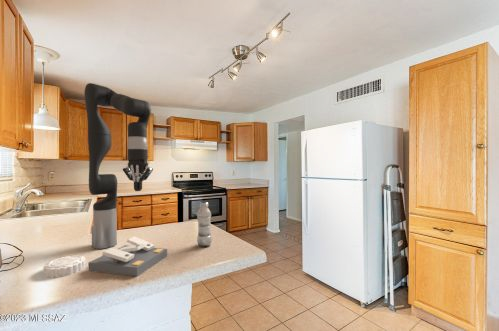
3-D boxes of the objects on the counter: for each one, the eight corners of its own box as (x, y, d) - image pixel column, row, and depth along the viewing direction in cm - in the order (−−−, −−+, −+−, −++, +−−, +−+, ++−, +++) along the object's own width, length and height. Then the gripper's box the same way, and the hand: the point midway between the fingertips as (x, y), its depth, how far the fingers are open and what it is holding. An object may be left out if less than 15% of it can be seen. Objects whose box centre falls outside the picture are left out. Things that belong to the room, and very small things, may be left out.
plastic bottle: (208, 248, 107) (208, 203, 106) (194, 247, 108) (194, 203, 108) (213, 243, 113) (213, 201, 113) (200, 242, 114) (200, 201, 114)
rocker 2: (126, 242, 96) (127, 238, 96) (133, 238, 100) (134, 235, 100) (147, 251, 94) (148, 247, 94) (153, 247, 98) (154, 244, 98)
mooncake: (79, 260, 94) (79, 251, 94) (90, 269, 87) (90, 259, 87) (40, 271, 85) (39, 261, 85) (47, 282, 77) (47, 271, 77)
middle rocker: (115, 253, 91) (115, 250, 91) (123, 250, 94) (123, 246, 94) (138, 250, 88) (137, 246, 88) (145, 246, 92) (144, 242, 92)
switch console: (88, 270, 85) (88, 258, 85) (125, 252, 102) (125, 241, 102) (137, 276, 80) (137, 263, 80) (167, 256, 98) (166, 245, 98)
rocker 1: (102, 254, 85) (102, 250, 85) (111, 250, 89) (111, 247, 89) (126, 262, 83) (126, 258, 82) (134, 257, 86) (134, 253, 86)
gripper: (116, 148, 95) (117, 191, 95) (145, 147, 92) (146, 192, 92) (130, 149, 102) (130, 189, 102) (157, 148, 99) (157, 190, 99)
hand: (138, 190), depth 97 cm, fingers closed
